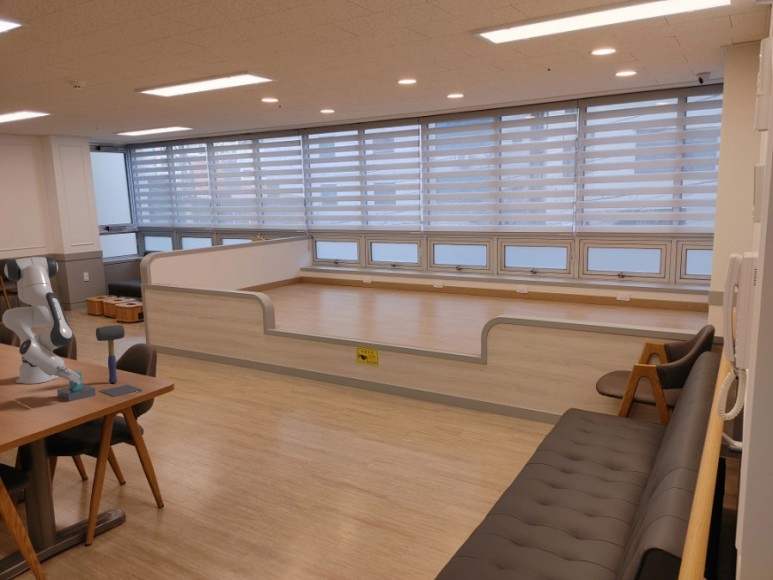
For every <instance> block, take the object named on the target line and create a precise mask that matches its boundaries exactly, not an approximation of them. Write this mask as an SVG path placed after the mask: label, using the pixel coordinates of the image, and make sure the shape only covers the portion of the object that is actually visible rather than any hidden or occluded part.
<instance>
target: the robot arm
mask: <svg viewBox="0 0 773 580" xmlns="http://www.w3.org/2000/svg"><path fill="white" fill-rule="evenodd" d="M3 270H4V275H5V276H6V278H7V279H8V280H9V281H11V282H17V285H16V286H17V297H18V298H19V300H20V301H21V302H22V303H24V304H27V305H28V306H21V307H13V308H10V309H9V308H8V309H6V310H5V311H4V313H3V315H2V316H1V317H2V318H1V319H2V323H3V325H4V326H5V328H6V329H9V330H11V331H13V332H14V333H15V334H16V335H17V337H18V339H19V341H20V344H21V345H20V346H19V351H18V352H19V354H20V356H21V362H22V363H21V364H20V365H19V366H18V370H19V371H18V372H19V377H18V378H17V379H16V380H15V384H26V385H30V384H32V385H34V384H41V383H45V382H48V381H49V382H50V381H52V380H56V379H58V378H61V379H64V380H66V381H68V382H69V381H72V382H74V383H77V384H80V383H81V381H80V380H79V379H80V376H79V375H78V374H77V373H75V372H76V371H73V370H72V369H71V368H68V367H67V366H66V364H65V360H64V359H63V358H62V357H60V356H59V355H57V354H56V353H54V350H56V349H59V348H62V347H65V346H68V345H70V344H71V343H72V342H73V338H74V332H73V330H72V328H71V326H70V324H69V323H68V318H67V317H66V314H65V311H64V307H63V305H62V302H61V300H60V297H59V296H58V294H56V293H55V292H53V288H52V284H51V281H50V279H51V278H54V277H56V276H57V275H58V270H59V265H58V262H57V261H56V259H55V258H54V257H51V256H45V257H43V256H30V257H25V258H24V257H23V258H18V259H17V258H14V259H13V258H12V259H9V260H7V261H6V262H5V265H4V269H3ZM29 305H30V306H29ZM50 326H51V327H50ZM44 327H45V328H46V327H49V328H47V329H44V330H42V331H39V332H38V333H37V332H34V331H33V330H32V329H34V328H44Z"/></svg>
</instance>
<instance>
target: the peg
mask: <svg viewBox="0 0 773 580" xmlns="http://www.w3.org/2000/svg"><path fill="white" fill-rule="evenodd" d="M74 372H75V373H77V374H78V375H79V376H80V379H79V380H80V381H81V383H80V384H77V383H74V382H72V381H69V380H68V383H69V385H68V386H69V387H70V390H71V391H76V390H80V389H82V384H83V377H82V372H81V371H78V370H77V371H74Z"/></svg>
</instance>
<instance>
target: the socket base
mask: <svg viewBox="0 0 773 580" xmlns="http://www.w3.org/2000/svg"><path fill="white" fill-rule="evenodd" d="M56 391H57V393H56V395H57V398H58V399H59V398H60V399H61V400H64V401H66V402H73V401H78V400H83V399H87V398H90V397H95V396H96V388H95V387H94V386H90V385H87V384H85V383H82V389H80V390H76V391H71V390H70V386H68V387H61V388H58V389H57V390H56Z"/></svg>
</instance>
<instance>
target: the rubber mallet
mask: <svg viewBox="0 0 773 580" xmlns="http://www.w3.org/2000/svg"><path fill="white" fill-rule="evenodd" d="M95 337H96V340H97V341H98V342H107V345H108V347H107V348H108V356H107V367H108V375H109V377H108V383H114V384H116V383H117V382H118V377H117V360H116V355H115V343H114V341H115V340H121V339H124V337H125V327H124V326H123V325H122V324H119V325H118V324H117V325H116V324H115V325H106V326H100V327H96V329H95Z"/></svg>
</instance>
